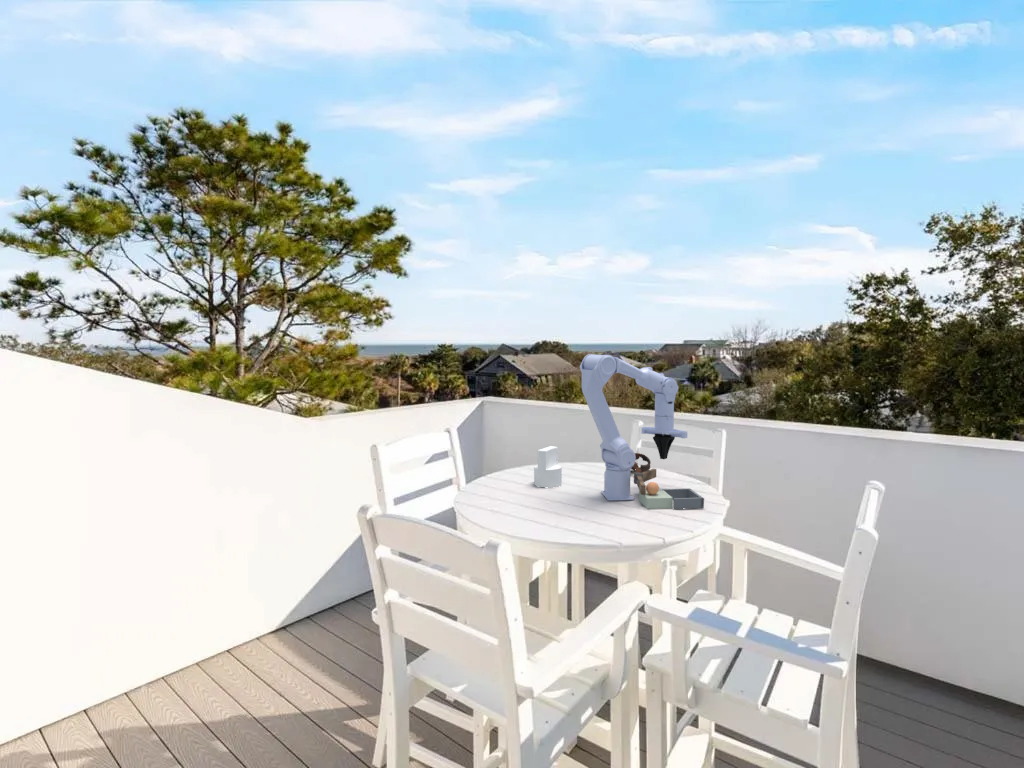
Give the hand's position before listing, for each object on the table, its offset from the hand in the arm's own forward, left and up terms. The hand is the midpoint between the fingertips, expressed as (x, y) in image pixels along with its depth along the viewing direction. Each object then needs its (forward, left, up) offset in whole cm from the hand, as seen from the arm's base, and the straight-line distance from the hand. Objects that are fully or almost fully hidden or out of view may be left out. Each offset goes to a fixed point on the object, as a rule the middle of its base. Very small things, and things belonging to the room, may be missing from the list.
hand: (663, 458), depth 186 cm
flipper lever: (+6, -6, -7) cm, 11 cm away
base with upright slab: (-11, -35, -10) cm, 38 cm away
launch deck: (+15, -7, -10) cm, 19 cm away
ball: (+15, -8, -5) cm, 17 cm away
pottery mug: (-23, -3, -10) cm, 26 cm away
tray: (+15, +1, -10) cm, 18 cm away
